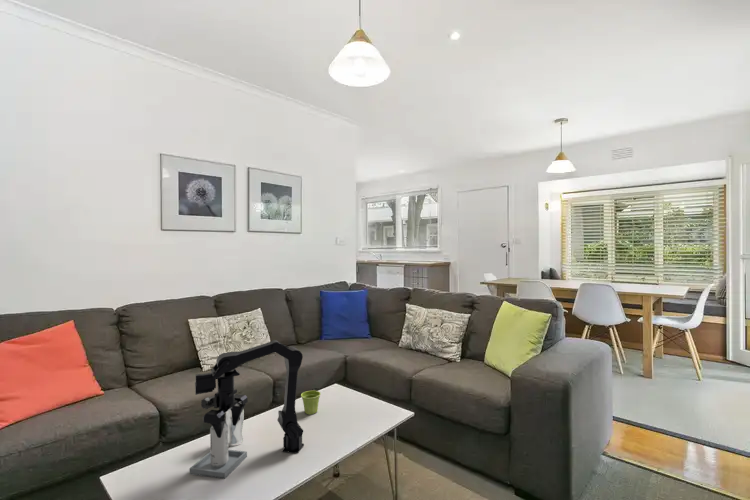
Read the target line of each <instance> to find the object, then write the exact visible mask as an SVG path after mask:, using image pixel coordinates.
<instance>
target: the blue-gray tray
mask: <svg viewBox="0 0 750 500" xmlns="http://www.w3.org/2000/svg"><path fill="white" fill-rule="evenodd" d="M246 458H248V451H245V450H235V449H228V461H227V463H226V465H224V466H222V467H218V468H216V467H213V466H212V465H211V450H210V451H209V452H207V453H206V454H205V455H204V456H203V457H201V459H199V460H198V461H197V462H196V463H194V464H193V465H192V466H191V467H190V468H189V469H188V471H189V475H193V476H200V477H201V476H202V477H209V478H216V479H223V480H225V479H226V478H227V477H228V476H230V474H231V473H233V471H234V470H236V469H237V467H238V466H239V465H240V464H242V462H244V461H245V459H246Z"/></svg>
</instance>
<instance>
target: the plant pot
mask: <svg viewBox="0 0 750 500" xmlns="http://www.w3.org/2000/svg"><path fill="white" fill-rule="evenodd" d="M300 397H301V399H302V403H303V408H304V413H305V414H306V415H314V414H317V413H318V411H319V401H320V397H321V392H320V391H318V390H307V391H303V392H302V393H301V394H300ZM316 412H317V413H316Z"/></svg>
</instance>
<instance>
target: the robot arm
mask: <svg viewBox="0 0 750 500" xmlns="http://www.w3.org/2000/svg"><path fill="white" fill-rule="evenodd" d="M275 353H276V354H277V355H280V356H281V357H283V358H284V365H285V370H286V373H285V385H284V386H285V387H284V399H283V407H282V409H281V410H278V415H277V416H278V417H277V422H278V424H279V426H280V428H281V430H282V431H283V432H284V435H283V438H282V439H283V445H282V446H283V449H282V452H283V453H292V454H298V453H299V452H300V451H301V449H303V447H304V445H305V444H304V443H303V433H304V429H303V428H302V427H301V425H300V424H299V423H298V416H297V412H296V411H297V410H296V401H297V400H296V398H297V385H298V372H299V370H300V368H301V366H302V362H303V353H302V352H301V351H300V350H299V349H298V348H296V347H295V346H288V345H286V344H284V343H282V342H279V341H278V340H276V339H273V340H271V341H270V342H266V343H262V344H260V345H256V346H253V347H251V348H246V349H244V350H241V351H227V352H223V353H220V354H219V355H218V356H217V358H216V361H215V362H216V363H215V365H214V366H213V367H212V369H211V370H210V372H206V373H197V374H195V381H194V394H195V395H203V394H207V393H212V392H214V391H215V389H216V388H217V392H215V393H214V395H212V396H209V397H205V398H202V399H201V402H200V405H201V408H202V409H205V410H208V409H210V408H213V409H211V410H209V411H207V412H206V413H205V414H204V415H203V416H202V421H203V424H204V423H206V424H210V425H211V427H212V426H213V428H214V430H215V432H216V435H217V437H218V438H221V436H222V432H223V428H224V423H225V421H226V412H227V411H228V410H231V412H232V422H233V425H234V426H236V424H237V422H238V420H239V417H240V415H241V413H242V411H243V409H244V408H245V407H246V404H247V403H248V398H249V397H248V396H247V395H246V394H237V393H238V389H235V377H238V376H240V375H241V374H240V372H239V371H238V370H237V368H238V367H240V366H242V365H243V364H244V363H247V362H251V361H253V360H256V359H259V358H262V357H265V356H268V355H271V354H275ZM217 409H218V410H217Z"/></svg>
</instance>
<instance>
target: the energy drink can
mask: <svg viewBox="0 0 750 500" xmlns="http://www.w3.org/2000/svg"><path fill="white" fill-rule="evenodd" d="M209 437H210V451H211V465H212V466H213V467H216V468H218V467H222V466H224V465H226V463H227V461H228V450H229V445H228V425H227V424H226V420H225V423H224V428H223V432H222V436H221V438H218V437H217V435H216V432H215V430H214V428H213V426H212V425H211V427H210V429H209Z"/></svg>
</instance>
